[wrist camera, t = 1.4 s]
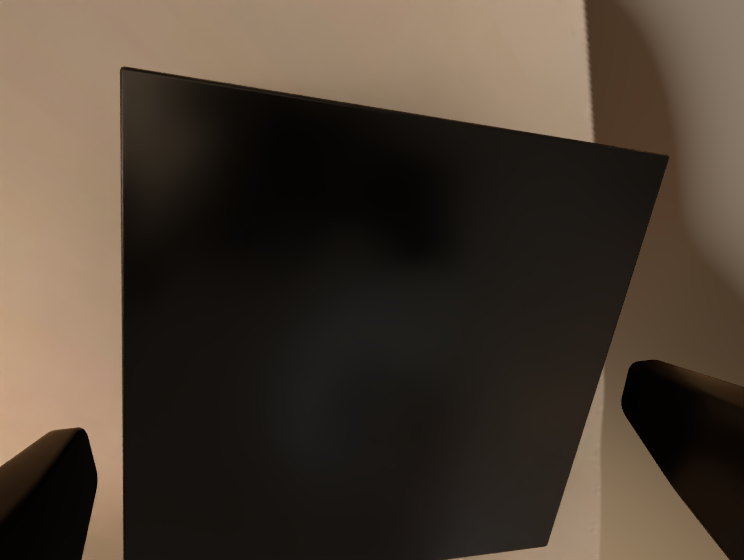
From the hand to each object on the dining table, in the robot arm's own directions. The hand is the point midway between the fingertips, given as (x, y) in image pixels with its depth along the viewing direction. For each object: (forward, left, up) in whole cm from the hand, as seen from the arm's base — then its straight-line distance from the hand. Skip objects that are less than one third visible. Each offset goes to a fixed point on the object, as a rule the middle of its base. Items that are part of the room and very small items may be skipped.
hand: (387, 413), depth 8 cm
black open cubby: (-1, -2, -14) cm, 14 cm away
